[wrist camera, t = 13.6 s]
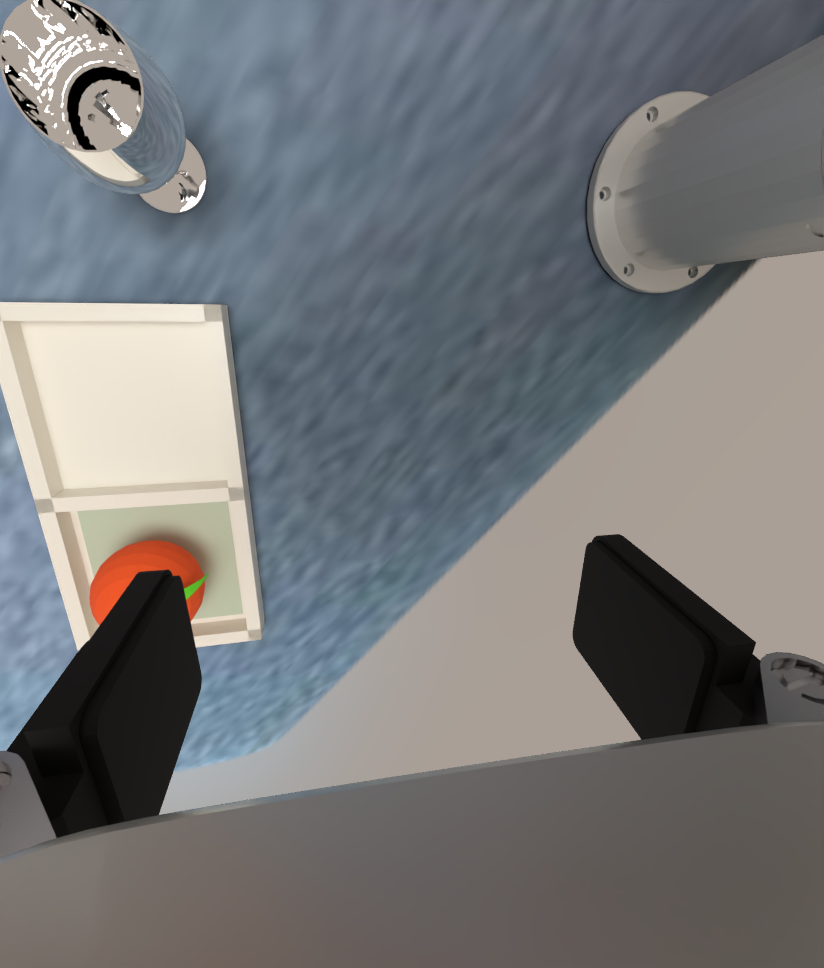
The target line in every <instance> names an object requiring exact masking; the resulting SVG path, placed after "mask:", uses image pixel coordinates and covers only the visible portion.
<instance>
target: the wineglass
mask: <svg viewBox="0 0 824 968" xmlns="http://www.w3.org/2000/svg"><path fill="white" fill-rule="evenodd" d="M0 68H1V72H2V76H3V80H4V82H5V85H6V87H7V90H8V92H9V94H10V96H11V97H12V99H13V101H14V103H15V104H16V106H17V108H18V109H19V111H20V113H21V114H22V116H23V117H24V118H25V120H26V121H27V122H28V124H29V125H30V126H31V128H32V129H33V130H34V132H35V133H36V134H37V135H38V137H39V138H40V139H41V140H42V142H43V143H44V144H45V145H46V146H47V147H48V148H49V149H50V150H51V152H52V153H53V154H54V155H56V156H57V157H58V158H59V159H60V160H61V161H62V162H63V163H64V164H66V165H67V166H68V167H69V168H71V169H72V170H73V171H74V172H76V173H77V174H79V175H80V176H82V177H83V178H85V179H86V180H88V181H90V182H91V183H93V184H95V185H98V186H100V187H102V188H105V189H108V190H111V191H115V192H119V193H125V194H139V196H140V197H141V198H142V199H143V200H144V201H145V202H147V203H148V204H149V205H150V206H152V207H154V208H156V209H157V210H160V211H163V212H166V213H173V214H177V213H184V212H187V211H189V210H191V209H193V208H194V207H195V206H196V205H198V204H199V202H200V201H201V200H202V198H203V196H204V194H205V190H206V184H207V175H206V169H205V165H204V162H203V159H202V157H201V156H200V154H199V152H198V150H197V149H196V148H195V146H194V145H193V144H192V143H191V142H190V141H189V140H188V139H187V138H186V131H185V124H184V119H183V115H182V111H181V108H180V105H179V102H178V100H177V97H176V95H175V93H174V91H173V89H172V87H171V85H170V83H169V81H168V80H167V78H166V77H165V75H164V74H163V72H162V71H161V69H160V68H159V67H158V65H157V64H156V63H155V62H154V60H153V59H152V58H151V56H150V55H149V54H148V53H147V52H146V51H145V50H144V49H143V48H142V47H141V46H140V45H139V44H138V43H137V42H136V41H135V40H134V39H133V38H132V37H131V36H129V35H128V34H127V33H126V32H124V31H123V30H122V29H121V28H119V27H118V26H117V25H116V24H114V23H113V22H111V21H110V20H108V19H107V18H106V17H105V16H103V15H102V14H100V13H98V12H97V11H95V10H94V9H92V8H90V7H88V6H86V5H85V4H83V3H81V2H79V1H76V0H27V1H25V2H24V3H22V4H21V5H19V6H18V7H16V8H15V9H14V10H13V12H12V13H11V14H10V16H9V17H8V18H7V20H6V21H5V24H4V27H3V30H2V33H1V35H0Z"/></svg>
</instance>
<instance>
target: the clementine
mask: <svg viewBox="0 0 824 968" xmlns="http://www.w3.org/2000/svg"><path fill="white" fill-rule="evenodd" d="M155 570H170V571H171V573H172V575H173V576H178V575H179V576H180V577H181V579H182V583H183V587H184V592H185V597H186V602H187V607H188V612H189V616H190V621H192V619H193V618H194V616H195V615H196V613H197V612H198V610H199V608H200V606H201V604H202V601H203V596H204V591H205V579H206V577H207V576H208V574H209V573H210V572H209V573H208V574H207V575H205V576H204V574H203V572H202V570H201V568H200V566H199V564H198V562H197V560H196V559H195V558H194V557H193V556H192V554H191V553H189V552H188V551H187V550H185V549H184V548H182V547H181V546H178V545H176V544H173V543H171V542H166V541H160V540H151V541H142V542H138V543H134V544H130V545H127V546H125V547H123V548H122V549H120V550H118V551H116V552H115V553H114V554H112V555H111V556H110V557H109V558H108V559H107V560H106V561H105V562H104V563H103V564H102V565H101V566H100V567H99V569H98V571H97V573H96V575H95V577H94V579H93V581H92V583H91V586H90V594H89V601H90V608H91V612H92V615H93V617H94V618H95V620H96V622H97V623H98V625H100V624H101V623H102V622H103V620H104V619H105V617H106V616H107V615H108V613H109V612H110V610H111V609H112V608H113V606H114V605H115V604H116V602H117V601H118V599H119V598H120V597H121V595H122V594H123V592H124V591H125V590H126V588H127V587H128V585H129V584H130V583H131V581H132V580H133V578H134V577H135V576H136V574H137V573H138V572H143V571H155Z"/></svg>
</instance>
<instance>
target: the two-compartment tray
mask: <svg viewBox="0 0 824 968" xmlns="http://www.w3.org/2000/svg"><path fill="white" fill-rule="evenodd" d="M0 384H1V388H2V391H3V394H4V398H5V401H6V405H7V408H8V412H9V415H10V419H11V422H12V425H13V429H14V432H15V436H16V439H17V443H18V446H19V450H20V453H21V456H22V460H23V463H24V467H25V470H26V474H27V477H28V481H29V484H30V488H31V491H32V494H33V498H34V501H35V505H36V508H37V512H38V515H39V519H40V522H41V525H42V529H43V532H44V536H45V539H46V543H47V546H48V550H49V553H50V556H51V560H52V563H53V567H54V570H55V574H56V577H57V581H58V584H59V587H60V591H61V594H62V598H63V601H64V605H65V608H66V612H67V615H68V619H69V622H70V625H71V629H72V632H73V636H74V639H75V643H76V646H77V650H78V651H79V650H80V649H81V647H82V646H83V645H84V644H85V643H86V642H87V641H89V640H90V638H91V637H92V636H93V634H94V633H95V631H96V630H97V629H98V627H99V626H100V625H98V623H97V622H96V620H95V618H94V617H93V615H92V612H91V608H90V601H89V594H90V586H91V583H92V581H93V579H94V577H95V575H96V573H97V571H98V569H99V567H100V566H101V565H102V564H103V563H104V562H105V561H106V560H107V559H108V558H109V557H110V556H111V555H112V554H114V553H115V552H116V551H118V550H120V549H122V548H123V547H125V546H127V545H130V544H134V543H138V542H142V541H151V540H160V541H166V542H171V543H173V544H176V545H178V546H181V547H182V548H184V549H185V550H187V551H188V552H189V553H191V554H192V556H193V557H194V558H195V559H196V560H197V562H198V564H199V566H200V568H201V570H202V572H203V574H204V576H205V575H207V574H208V573H209V572H210V573H209V574H208V576H207V577H206V579H205V591H204V596H203V601H202V604H201V606H200V608H199V610H198V612H197V613H196V615H195V616H194V618H193V619H192V621H191V626H192V631H193V636H194V641H195V646H196V647H203V646H211V645H219V644H228V643H236V642H244V641H253V640H261V639H262V636H263V630H264V623H265V617H264V609H263V600H262V592H261V584H260V575H259V567H258V559H257V550H256V542H255V534H254V525H253V517H252V509H251V500H250V492H249V484H248V475H247V467H246V459H245V450H244V442H243V434H242V425H241V417H240V409H239V400H238V392H237V384H236V375H235V367H234V359H233V350H232V342H231V334H230V325H229V317H228V309H227V305H209V304H117V303H26V302H0Z"/></svg>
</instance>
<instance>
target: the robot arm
mask: <svg viewBox="0 0 824 968" xmlns="http://www.w3.org/2000/svg"><path fill="white" fill-rule="evenodd" d="M599 194H600V195H599ZM587 223H588V229H589V235H590V240H591V243H592V246H593V249H594V251H595V254H596V256H597V258H598V259H599V261H600V263H601V265H602V267H603V268H604V269H605V270H606V271H607V273H608V274H609V275H610V276H611V277H612V278H613V279H614V280H616V281H617V282H618V283H620V284H621V285H623V286H624V287H626V288H629V289H631V290H634V291H636V292H643V293H665V292H670V291H674V290H678V289H681V288H683V287H685V286H688V285H690V284H692V283H693V282H695V281H696V280H698V279H699V278H701V277H702V276H704V275H705V274H706V273H707V272H708V271H709V270H710V269H711V268H712V267H713V266H715V265H716V264H720V263H728V262H736V261H744V260H752V259H760V258H767V257H774V256H783V255H791V254H799V253H807V252H815V251H823V250H824V34H823V35H821V36H820V37H818V38H816V39H814V40H812V41H810V42H809V43H807V44H805V45H803V46H801V47H799V48H798V49H796V50H794V51H792V52H790V53H789V54H787V55H785V56H783V57H781V58H779V59H778V60H776V61H774V62H772V63H770V64H768V65H767V66H765V67H763V68H761V69H759V70H758V71H756V72H754V73H752V74H750V75H748V76H747V77H745V78H743V79H741V80H739V81H737V82H736V83H734V84H732V85H730V86H728V87H727V88H725V89H723V90H721V91H719V92H717V93H716V94H714V95H712V96H708V95H705V94H702V93H698V92H694V91H675V92H672V93H668V94H664V95H661V96H659V97H657V98H655V99H653V100H651V101H649V102H648V103H646V104H644V105H643V106H641V107H640V108H638V109H637V110H635V111H634V112H633V113H631V114H630V115H629V116H628V117H627V118H626V119H625V120H624V121H623V122H622V123H621V124H620V125H619V126H618V127H617V128H616V129H615V131H614V132H613V133H612V135H611V136H610V138H609V139H608V141H607V142H606V143H605V145H604V147H603V149H602V151H601V153H600V155H599V158H598V160H597V162H596V164H595V168H594V171H593V174H592V177H591V181H590V186H589V192H588V199H587ZM573 640H574V643H575V646H576V648H577V649H578V651H579V652H580V653H581V655H582V656H583V658H584V659H585V661H586V662H587V663H588V665H589V666H590V668H591V669H592V671H593V672H594V673H595V675H596V676H597V677H598V679H599V680H600V682H601V683H602V685H603V686H604V687H605V689H606V690H607V692H608V693H609V694H610V696H611V697H612V698H613V700H614V701H615V703H616V704H617V706H618V707H619V708H620V710H621V711H622V713H623V714H624V715H625V717H626V718H627V720H628V721H629V723H630V724H631V725H632V727H633V728H634V730H635V731H636V732H637V734H638V735H639V736H640V738H641V739H642V740H637V741H631V742H624V743H616V744H610V745H602V746H596V747H589V748H582V749H575V750H568V751H561V752H554V753H547V754H541V755H535V756H528V757H521V758H515V759H508V760H501V761H494V762H488V763H481V764H474V765H468V766H461V767H455V768H448V769H442V770H435V771H429V772H422V773H415V774H409V775H402V776H396V777H390V778H383V779H377V780H370V781H364V782H357V783H351V784H345V785H339V786H332V787H326V788H320V789H313V790H307V791H301V792H295V793H288V794H281V795H275V796H269V797H262V798H256V799H250V800H244V801H238V802H232V803H226V804H221V805H215V806H208V807H203V808H197V809H192V810H185V811H179V812H174V813H169V814H163V815H159V812H160V809H161V806H162V803H163V801H164V797H165V794H166V791H167V789H168V786H169V783H170V780H171V777H172V774H173V771H174V768H175V765H176V762H177V759H178V756H179V753H180V750H181V747H182V744H183V741H184V738H185V735H186V732H187V729H188V726H189V723H190V720H191V717H192V714H193V711H194V708H195V705H196V702H197V699H198V696H199V693H200V690H201V682H202V676H201V670H200V665H199V660H198V655H197V650H196V646H195V641H194V636H193V631H192V626H191V621H190V616H189V612H188V607H187V602H186V597H185V592H184V587H183V583H182V579H181V577H180V576H179V575H178V576H173V575H172V573H171V571H170V570H155V571H143V572H138V573H137V574H136V576H135V577H134V578H133V580H132V581H131V583H130V584H129V585H128V587H127V588H126V590H125V591H124V592H123V594H122V595H121V597H120V598H119V599H118V601H117V602H116V604H115V605H114V606H113V608H112V609H111V610H110V612H109V613H108V615H107V616H106V617H105V619H104V620H103V622H102V623H101V624H100V626H99V627H98V629H97V630H96V631H95V633H94V634H93V636H92V637H91V638H90V640H89V641H87V642H86V643H85V644H84V645H83V646H82V647H81V649H80V650H79V651H78V653H77V654H76V656H75V657H74V658H73V660H72V661H71V662H70V664H69V665H68V667H67V668H66V669H65V671H64V672H63V674H62V675H61V676H60V678H59V679H58V680H57V682H56V683H55V685H54V686H53V687H52V689H51V690H50V691H49V693H48V694H47V696H46V697H45V698H44V700H43V701H42V703H41V704H40V705H39V707H38V708H37V709H36V711H35V712H34V714H33V715H32V716H31V718H30V719H29V720H28V722H27V723H26V725H25V726H24V727H23V729H22V730H21V732H20V733H19V734H18V736H17V737H16V738H15V740H14V741H13V743H12V744H11V745H10V747H9V748H8V749H7V751H0V968H824V664H822V663H820V662H818V661H816V660H813V659H810V658H807V657H804V656H801V655H796V654H792V653H782V652H780V653H779V652H776V653H770V654H767V655H766V656H764V657H763V658H762V659H761V661H760V660H759V659H757V657H755V656H754V655H753V654H752V653H753V650H754V647H755V644H756V642H755V641H754V640H752V639H751V638H750V637H748V636H747V635H746V634H745V633H744V632H742V631H741V630H740V629H739V628H737V627H736V626H735V625H733V624H732V623H731V622H730V621H729V620H727V619H726V618H725V617H724V616H722V615H721V614H720V613H719V612H717V611H716V610H715V609H714V608H712V607H711V606H710V605H708V604H707V603H706V602H705V601H703V600H702V599H701V598H700V597H699V596H697V595H696V594H695V593H694V592H692V591H691V590H690V589H688V588H687V587H686V586H685V585H683V584H682V583H681V582H680V581H679V580H677V579H676V578H675V577H673V576H672V575H671V574H670V573H669V572H667V571H666V570H665V569H664V568H662V567H661V566H660V565H658V564H657V563H656V562H655V561H653V560H652V559H651V558H650V557H648V556H647V555H646V554H645V553H643V552H642V551H641V550H640V549H638V548H637V547H636V546H635V545H633V544H632V543H631V542H630V541H628V540H627V539H626V538H625V537H623V536H622V535H619V534H616V535H604V536H596V537H594V539H593V540H592V542H590V543H588V544H587V546H586V551H585V557H584V563H583V570H582V577H581V582H580V589H579V596H578V602H577V609H576V614H575V621H574V627H573Z"/></svg>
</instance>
